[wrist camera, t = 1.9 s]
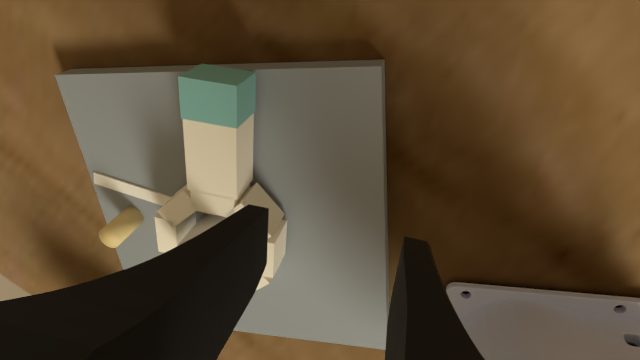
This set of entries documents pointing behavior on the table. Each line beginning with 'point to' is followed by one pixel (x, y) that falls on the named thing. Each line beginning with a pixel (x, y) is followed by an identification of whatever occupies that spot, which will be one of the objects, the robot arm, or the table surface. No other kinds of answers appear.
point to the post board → (269, 172)
